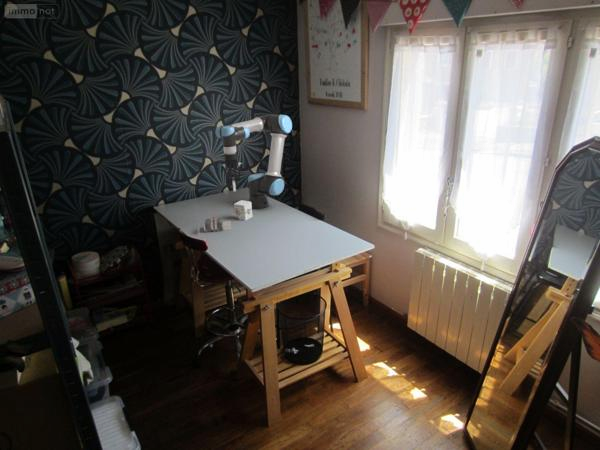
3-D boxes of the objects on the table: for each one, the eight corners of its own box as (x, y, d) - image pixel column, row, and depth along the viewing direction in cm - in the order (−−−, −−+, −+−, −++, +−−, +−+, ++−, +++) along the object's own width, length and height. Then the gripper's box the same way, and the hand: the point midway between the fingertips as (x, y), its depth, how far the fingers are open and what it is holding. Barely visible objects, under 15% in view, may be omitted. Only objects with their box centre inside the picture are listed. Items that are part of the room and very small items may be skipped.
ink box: (234, 220, 272) (233, 203, 268) (242, 216, 279) (240, 199, 275) (245, 222, 268) (244, 205, 264) (253, 218, 275) (251, 201, 271)
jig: (252, 225, 263) (251, 211, 259) (253, 230, 254) (252, 216, 251) (201, 229, 259) (199, 215, 255) (200, 235, 250) (198, 221, 247)
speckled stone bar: (230, 226, 258) (230, 220, 257) (230, 229, 254) (230, 222, 253) (204, 229, 256) (203, 222, 255) (204, 231, 252) (203, 225, 251)
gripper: (240, 150, 252) (244, 187, 261) (219, 152, 250) (224, 189, 259) (241, 153, 245) (245, 191, 254) (219, 155, 243) (224, 193, 252)
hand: (234, 190), depth 257 cm, fingers closed
